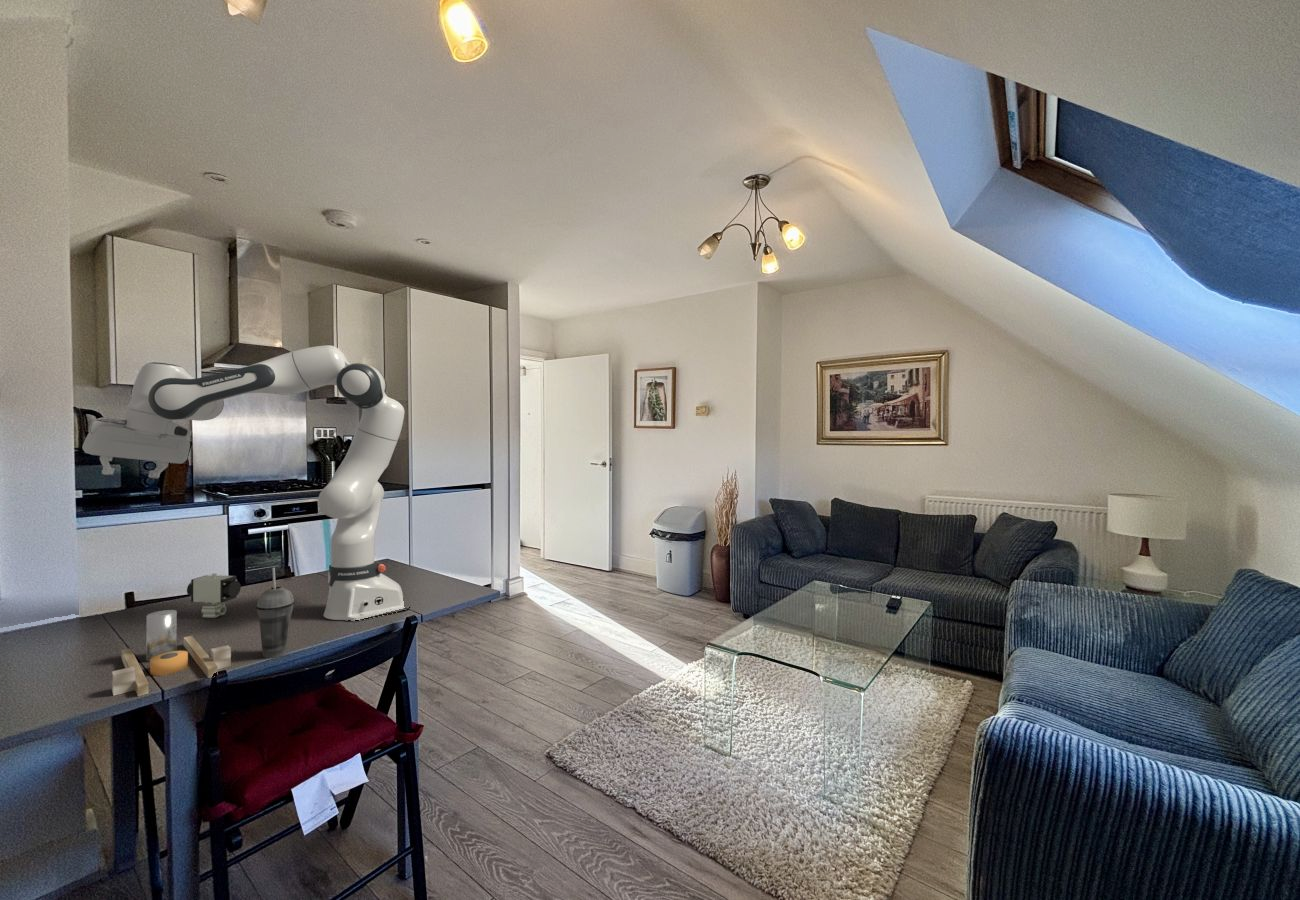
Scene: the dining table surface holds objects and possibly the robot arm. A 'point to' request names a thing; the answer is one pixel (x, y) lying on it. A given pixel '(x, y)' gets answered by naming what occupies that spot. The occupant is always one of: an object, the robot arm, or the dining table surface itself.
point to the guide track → (137, 681)
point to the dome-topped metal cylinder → (161, 633)
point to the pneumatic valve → (213, 593)
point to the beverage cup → (275, 619)
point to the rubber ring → (168, 663)
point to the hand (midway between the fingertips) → (130, 476)
